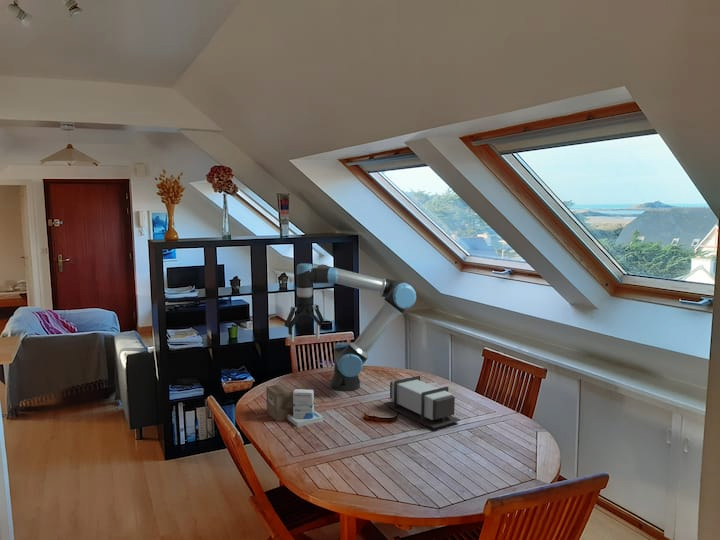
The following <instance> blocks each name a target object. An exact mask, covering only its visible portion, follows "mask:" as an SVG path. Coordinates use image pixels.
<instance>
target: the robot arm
mask: <svg viewBox="0 0 720 540" xmlns="http://www.w3.org/2000/svg"><path fill="white" fill-rule="evenodd" d="M313 284H338V285H341V286H346V287H349V288H354V289H359V290H362V291H366V292H370V293H374V294H378V296H379V297H382V298H384V299H383V305H382V306H381V308H380V309H379V310H378V311H377V313H375V315H374V316H373V318H372V319H371V320H370V322H369V323H368V324H367V326H365V328H364V329H363V330H362V332H361V333H360V334H359V335H358V337H357V338H356V339H355V341H353V342H350V341H347V342H345V341H344V342H343V341H342V342H337V343H335V344H334V346H333V350H334V353H333V355H334V356H333V358H334V359H333V362H334V364H333V367H334V368H333V370H334V371H333V375H332V378H331V381H330V388H331V389H333V390H335V391H341V392H348V391H349V392H350V391H356V390H358V389H359V388H361V380H360V378H359V374H360V373H361V372H362V370H363V368H364V364H365V363H366V361H367V360H368V359H369V356H368V355H369V353H370V351H371V350H372V349H373V348H374V346H375V345H376V343H377V342H378V341H379V339H381V337H382V336H383V335H384V333H385V332H386V331H387V330H388V328H389V327H390V326H391V324H392V323H393V322H394V321H395V320H396V318H397V317H398V316H399V315H400V316H401V315H403V314H404V313H405V311H406V310H407V309H409V308H412V307H413V306H414V305H415V303H416V301H417V292H416V290H415V289H414V287H413V286H412V285H410V284H409V283H407V282H405V281H403V280H397V279H392V278H391V279H390V278H386V277H384V278H377V277H375V276H374V277H373V276H370V275H365V274H361V273H358V272H354V271H350V270H346V269H341V268H338V267H334V266H329V265H328V264H325V263H324V264H319V265H317V266H316V267H313V264H312V263H299V264H297V265H296V295H297V297H296V306H290V312H289V314H288V315H287V318H286V321H285V323H284V324H283V325H284V327H286V328H287V329H288V331H287V332H288V335H289V341H291V342H292V343H293V342H295V331H294V330H295V328H294V325H296V323H297V322H298V320H299V318H301V316H310V317H311V318H312V319H313V320H314V322H315V323H316V324H315V338H316V339H320V332H321V330H322V325H323V324H324V323H326V322H325V319H324V318H323V315H322V313H321V311H320V308H319V307H320V306H319V305H318V304H313V302H314V301H313V300H314V299H313V293H314V292H313ZM313 310H314V312H315V314H314V312H313ZM296 311H297V312H296ZM295 312H296V313H295ZM316 315H317V316H316Z"/></svg>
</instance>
